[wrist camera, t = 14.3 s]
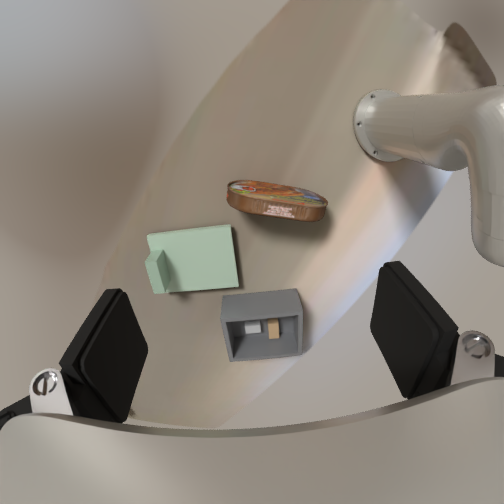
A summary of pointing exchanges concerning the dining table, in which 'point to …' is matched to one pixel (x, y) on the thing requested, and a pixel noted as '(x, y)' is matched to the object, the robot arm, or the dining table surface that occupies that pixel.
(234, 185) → the tin
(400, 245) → the dining table surface
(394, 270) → the robot arm
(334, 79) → the dining table surface
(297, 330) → the tub
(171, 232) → the lid
